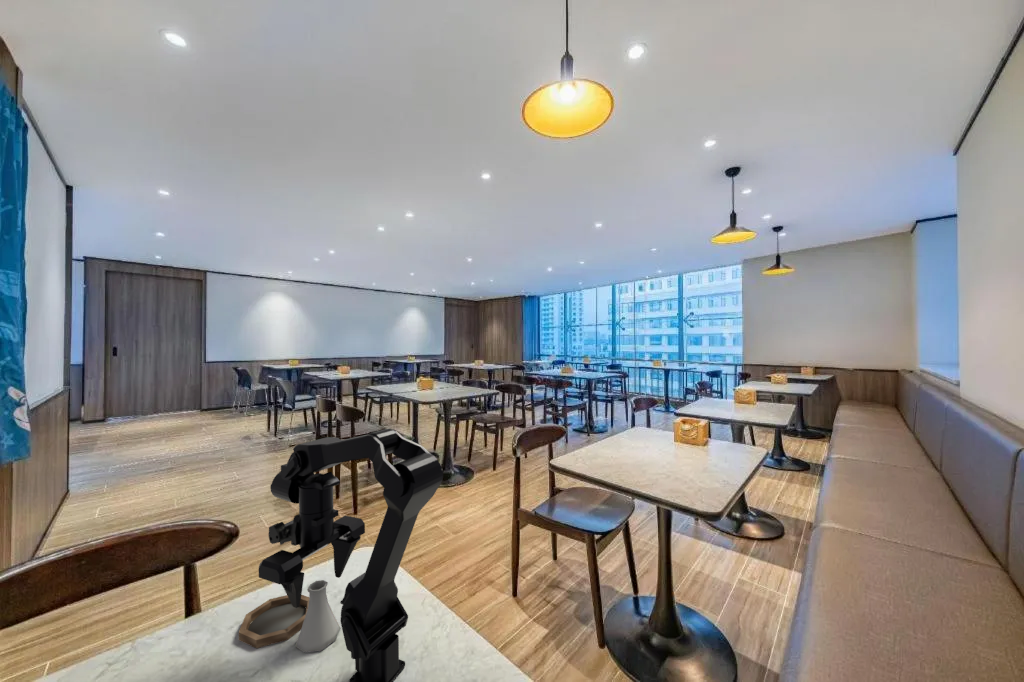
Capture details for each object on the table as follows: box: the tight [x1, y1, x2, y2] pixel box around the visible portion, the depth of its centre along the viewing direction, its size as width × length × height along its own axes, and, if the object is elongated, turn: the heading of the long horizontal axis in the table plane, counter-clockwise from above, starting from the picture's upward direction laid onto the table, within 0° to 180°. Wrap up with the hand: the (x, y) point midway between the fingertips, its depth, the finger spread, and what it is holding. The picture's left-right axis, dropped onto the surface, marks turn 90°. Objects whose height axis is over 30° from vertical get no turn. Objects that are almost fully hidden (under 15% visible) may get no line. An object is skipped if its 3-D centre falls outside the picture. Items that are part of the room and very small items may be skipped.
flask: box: [295, 580, 342, 653], centre depth 72 cm, size 7×7×10 cm
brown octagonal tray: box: [238, 594, 309, 649], centre depth 76 cm, size 12×12×2 cm
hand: (318, 591), depth 72 cm, fingers open, 9 cm apart
